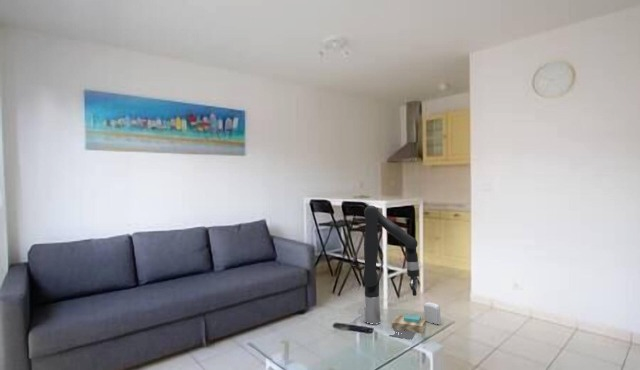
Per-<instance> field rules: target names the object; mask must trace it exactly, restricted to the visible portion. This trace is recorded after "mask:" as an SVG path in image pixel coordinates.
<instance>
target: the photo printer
mask: <svg viewBox="0 0 640 370" xmlns="http://www.w3.org/2000/svg"><path fill="white" fill-rule="evenodd" d="M423 310H424V311H423V312H424V319H426V321H427V322H426V323H430V324H433V323H434V325H437V324H440V323H441V324H442V321H441V320H442V319H441V307H440V305H438V304H437V303H435V302H429V301H427V302H425V303H424V304H423ZM441 324H440V325H441Z"/></svg>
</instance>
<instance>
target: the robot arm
mask: <svg viewBox="0 0 640 370" xmlns="http://www.w3.org/2000/svg"><path fill="white" fill-rule="evenodd" d="M363 214H364V219H365V231H364V237H363V257H364V258H363V259H364V260H363V261H364V270H363V277H362V278H363V279H362V281H363V282H364V302H365V303H364V304H365V305H364V306H365V307H364V309H363V310H364V322H365V321H366V322H368V323H373V324H376V323H379V322H382V320H381V306H380V301H381V300H380V277H379V276H380V275H379V274H378V272H377V262H378V255H379V233H378V231H379V230H378V225H379V226H381V227H382V228H383V229H384V230H385V231H386V232H387V233H389V234H390V235H391V236H393V237H394V239H397V240H398V241H400V242H401V243H402V244H403V245H404V247H405V252H406V275H407V277H409V278H410V279H409V287H410V290H411V291H412V292H411V293H412V296H413V297H416V296H417V294H418V293H417V288H418V282H419V278H418V277H419V276H420V266H419V257H418V251H417V247H418V244H419V243H418V241H417V239H416V238H415V237H413V236H412V235H410V234H409V233H407V232H406V231H405V230H404V229H402V227H400V225H397V224H396V223H395V222H393V221H392V220H390V219H388V217H386V216H385V215H384V214H383V213H382V212H381V211H380V210H379V209H378V208H377V206H374V205H368V206H366V207H365V209H364V212H363ZM368 323H367V324H368ZM379 324H380V323H379ZM376 325H377V324H376Z"/></svg>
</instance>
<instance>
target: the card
mask: <svg viewBox="0 0 640 370" xmlns="http://www.w3.org/2000/svg"><path fill="white" fill-rule="evenodd" d="M421 318H422V317H421V316H420V315H413V314H405V317H404V321H406V322H413V323H419V322H420V320H421Z"/></svg>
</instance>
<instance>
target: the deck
mask: <svg viewBox="0 0 640 370" xmlns="http://www.w3.org/2000/svg"><path fill="white" fill-rule="evenodd" d="M405 316H406V315H405ZM405 316H404V315H399V314H397V315H396V316H395V318H394V319H392V321H391V329H392V328H393V329H392V330H394V329H396V330H397V329H398V330H403V331H404V330H405V331H410V332H416V333H418V334H419V333H420V334H423V332H424V330H425V328H426V326H427V322H426V319H425V318H422V317H421V320H420V322H419V323H413V322H406V321H404V317H405Z"/></svg>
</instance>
